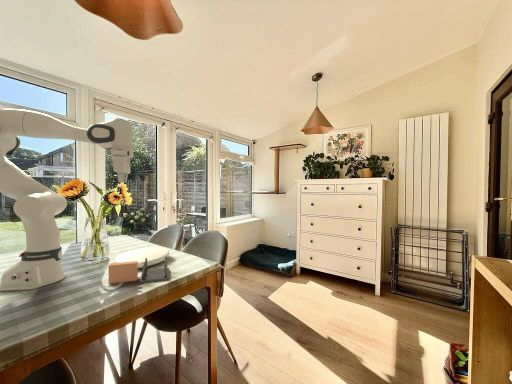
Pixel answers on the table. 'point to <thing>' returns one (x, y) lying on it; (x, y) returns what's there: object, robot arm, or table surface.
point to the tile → (123, 272)
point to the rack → (154, 273)
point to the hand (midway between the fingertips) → (122, 182)
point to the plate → (144, 256)
